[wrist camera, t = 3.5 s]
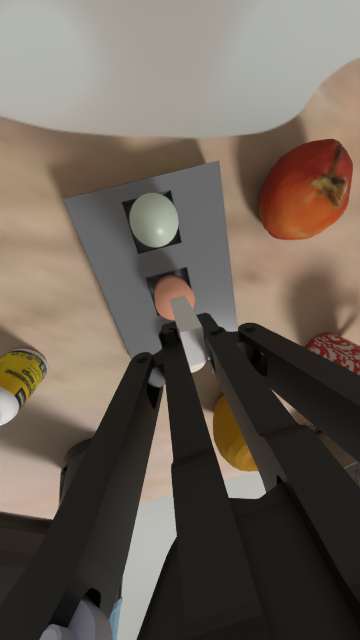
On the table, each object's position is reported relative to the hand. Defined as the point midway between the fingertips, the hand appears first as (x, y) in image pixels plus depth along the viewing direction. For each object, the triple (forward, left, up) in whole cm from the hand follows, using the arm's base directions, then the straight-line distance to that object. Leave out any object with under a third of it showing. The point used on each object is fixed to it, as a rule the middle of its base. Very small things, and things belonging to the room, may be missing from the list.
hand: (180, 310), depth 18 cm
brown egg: (0, 0, -7) cm, 7 cm away
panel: (0, 0, -10) cm, 10 cm away
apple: (+7, -27, -10) cm, 30 cm away
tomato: (+17, +7, -10) cm, 21 cm away
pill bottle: (-24, -6, -10) cm, 27 cm away
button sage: (0, +8, -7) cm, 10 cm away
